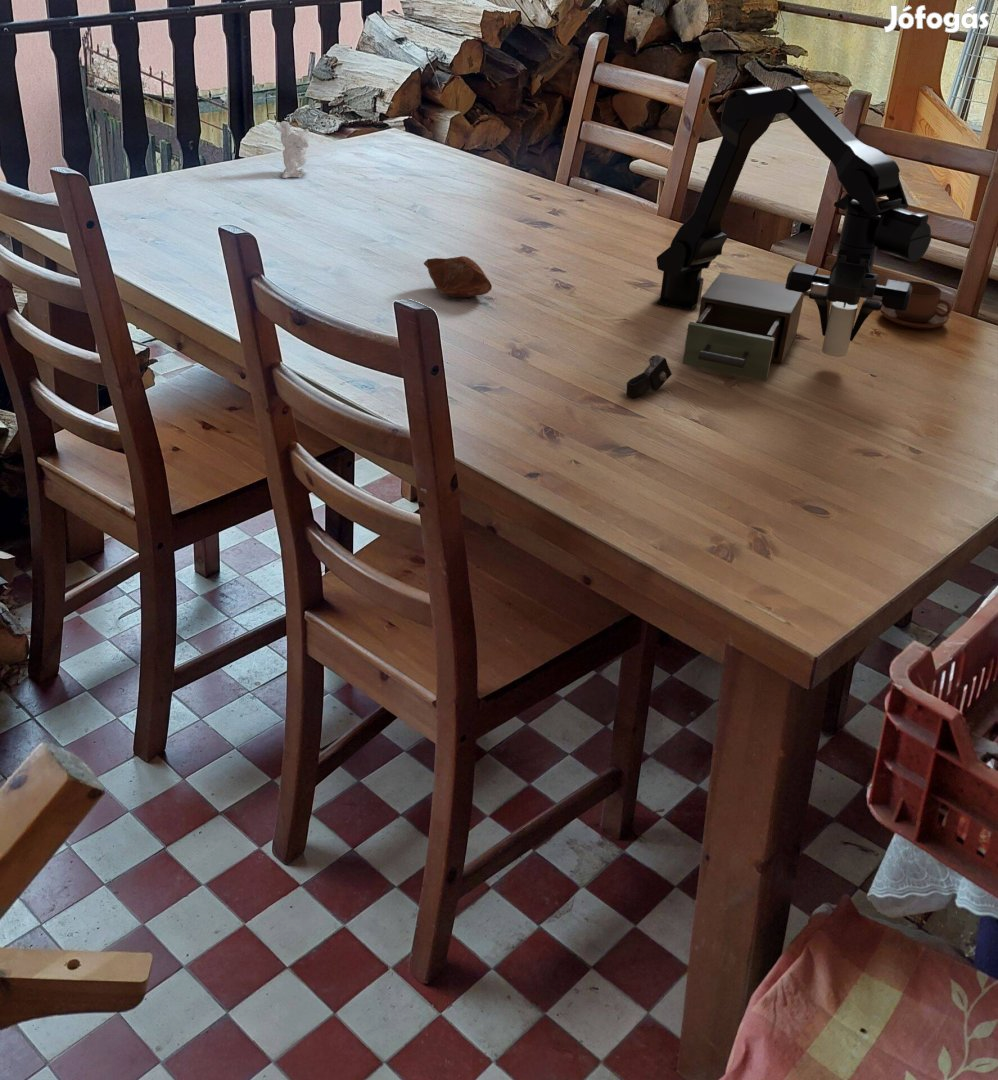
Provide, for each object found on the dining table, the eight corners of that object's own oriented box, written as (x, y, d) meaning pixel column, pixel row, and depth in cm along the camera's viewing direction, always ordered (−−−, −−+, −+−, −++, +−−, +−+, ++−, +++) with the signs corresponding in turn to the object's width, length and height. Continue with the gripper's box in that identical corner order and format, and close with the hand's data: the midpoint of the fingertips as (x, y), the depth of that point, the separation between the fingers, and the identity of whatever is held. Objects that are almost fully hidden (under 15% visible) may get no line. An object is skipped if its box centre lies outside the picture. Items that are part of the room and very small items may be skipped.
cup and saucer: (947, 315, 215) (955, 283, 211) (945, 338, 205) (954, 305, 202) (879, 305, 218) (887, 272, 214) (875, 327, 208) (883, 293, 205)
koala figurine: (282, 181, 266) (280, 126, 259) (270, 173, 270) (267, 119, 264) (316, 177, 270) (315, 123, 263) (304, 169, 274) (302, 116, 268)
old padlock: (641, 412, 179) (631, 390, 175) (631, 407, 181) (622, 385, 177) (675, 375, 181) (666, 353, 177) (665, 371, 182) (656, 348, 178)
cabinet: (781, 363, 192) (791, 313, 187) (694, 346, 196) (701, 296, 192) (796, 335, 203) (805, 287, 198) (713, 319, 207) (720, 272, 203)
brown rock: (505, 285, 206) (474, 236, 202) (470, 314, 204) (438, 265, 200) (474, 288, 217) (445, 242, 213) (441, 315, 215) (410, 268, 211)
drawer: (759, 392, 180) (767, 351, 176) (674, 375, 184) (680, 334, 180) (781, 353, 193) (788, 314, 190) (701, 337, 197) (707, 298, 194)
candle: (820, 353, 189) (831, 301, 185) (823, 345, 192) (835, 293, 188) (845, 358, 188) (856, 306, 183) (848, 349, 191) (860, 298, 187)
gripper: (788, 246, 177) (770, 343, 186) (915, 268, 172) (891, 367, 180) (801, 227, 186) (783, 320, 195) (922, 247, 181) (898, 342, 189)
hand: (837, 337), depth 189 cm, fingers closed on candle, 4 cm apart
